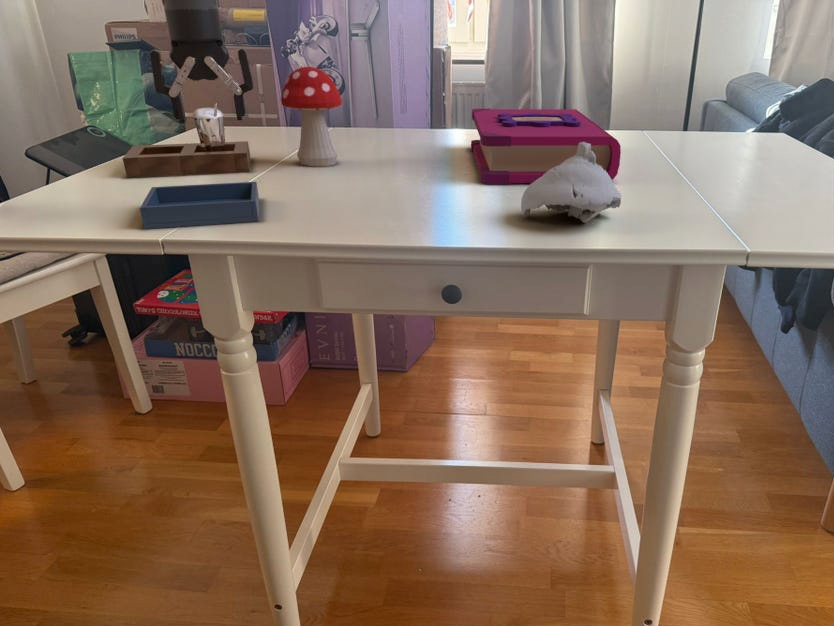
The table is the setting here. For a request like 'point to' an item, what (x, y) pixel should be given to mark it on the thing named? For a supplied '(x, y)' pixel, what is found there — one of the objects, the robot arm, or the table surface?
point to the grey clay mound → (573, 187)
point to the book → (536, 143)
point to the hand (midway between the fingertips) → (211, 120)
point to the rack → (185, 160)
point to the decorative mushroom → (312, 113)
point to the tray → (200, 205)
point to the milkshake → (210, 129)
